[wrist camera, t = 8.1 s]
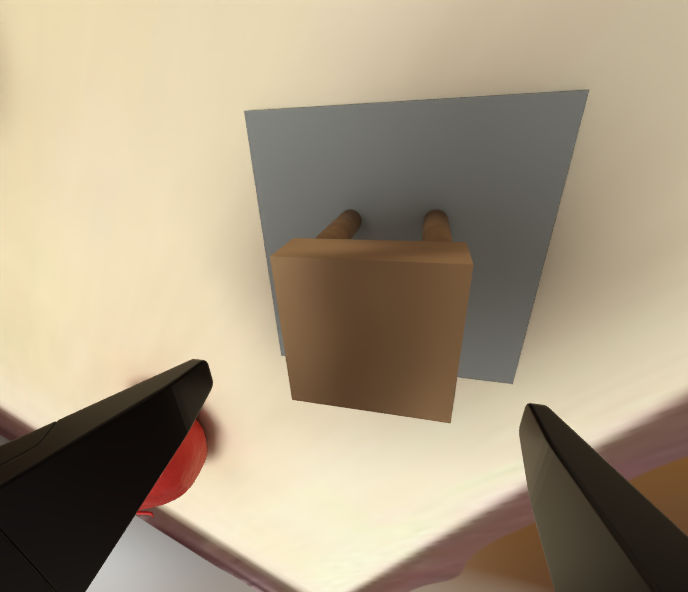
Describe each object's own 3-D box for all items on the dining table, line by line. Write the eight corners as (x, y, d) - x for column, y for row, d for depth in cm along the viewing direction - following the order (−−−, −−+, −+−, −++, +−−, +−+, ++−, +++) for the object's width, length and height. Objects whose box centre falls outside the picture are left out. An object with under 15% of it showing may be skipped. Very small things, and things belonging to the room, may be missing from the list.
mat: (584, 90, 13) (589, 89, 13) (511, 379, 20) (512, 383, 19) (248, 111, 16) (244, 110, 16) (283, 352, 23) (281, 355, 23)
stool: (454, 205, 16) (473, 264, 9) (442, 312, 18) (450, 423, 11) (335, 205, 17) (269, 256, 10) (340, 305, 20) (292, 399, 13)
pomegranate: (199, 377, 27) (102, 482, 19) (233, 460, 31) (166, 575, 23) (107, 375, 29) (-14, 467, 21) (150, 452, 33) (63, 553, 25)
